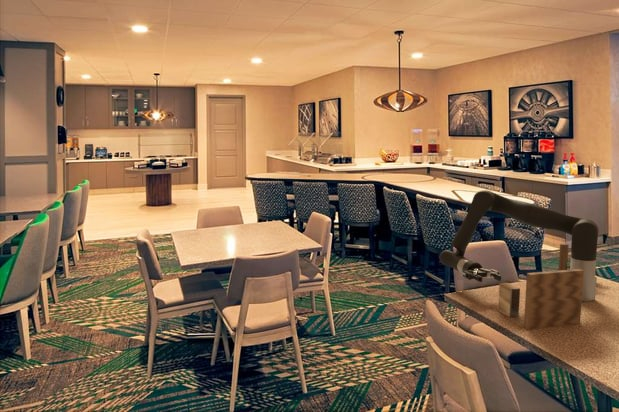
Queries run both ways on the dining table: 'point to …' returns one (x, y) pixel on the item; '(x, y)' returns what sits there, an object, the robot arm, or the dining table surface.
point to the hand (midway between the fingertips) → (491, 279)
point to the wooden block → (563, 257)
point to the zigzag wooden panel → (553, 298)
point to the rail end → (509, 299)
